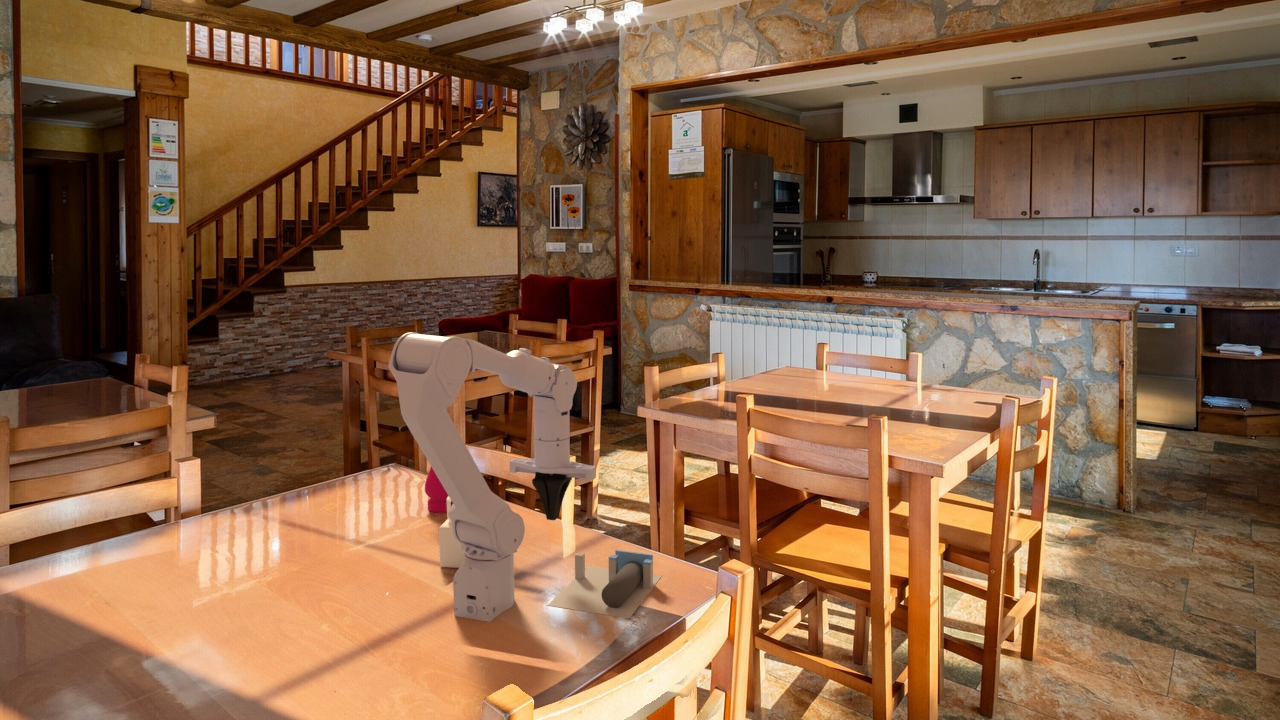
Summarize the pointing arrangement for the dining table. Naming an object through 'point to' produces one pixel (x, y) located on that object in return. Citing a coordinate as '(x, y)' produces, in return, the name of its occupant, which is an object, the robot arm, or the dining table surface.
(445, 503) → the pepper mill
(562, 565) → the dining table surface
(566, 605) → the base plate with posts
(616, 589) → the dark brown cylinder post
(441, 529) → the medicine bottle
